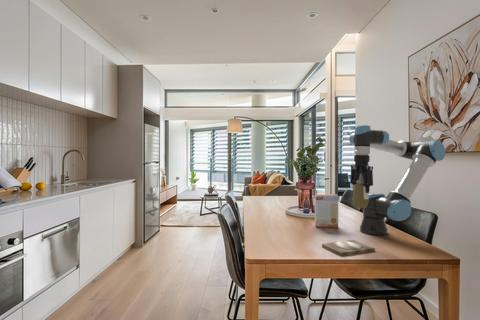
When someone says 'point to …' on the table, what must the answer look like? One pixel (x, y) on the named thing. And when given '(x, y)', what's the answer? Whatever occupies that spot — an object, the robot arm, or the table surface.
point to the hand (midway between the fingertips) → (360, 198)
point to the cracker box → (326, 210)
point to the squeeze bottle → (359, 194)
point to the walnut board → (348, 247)
